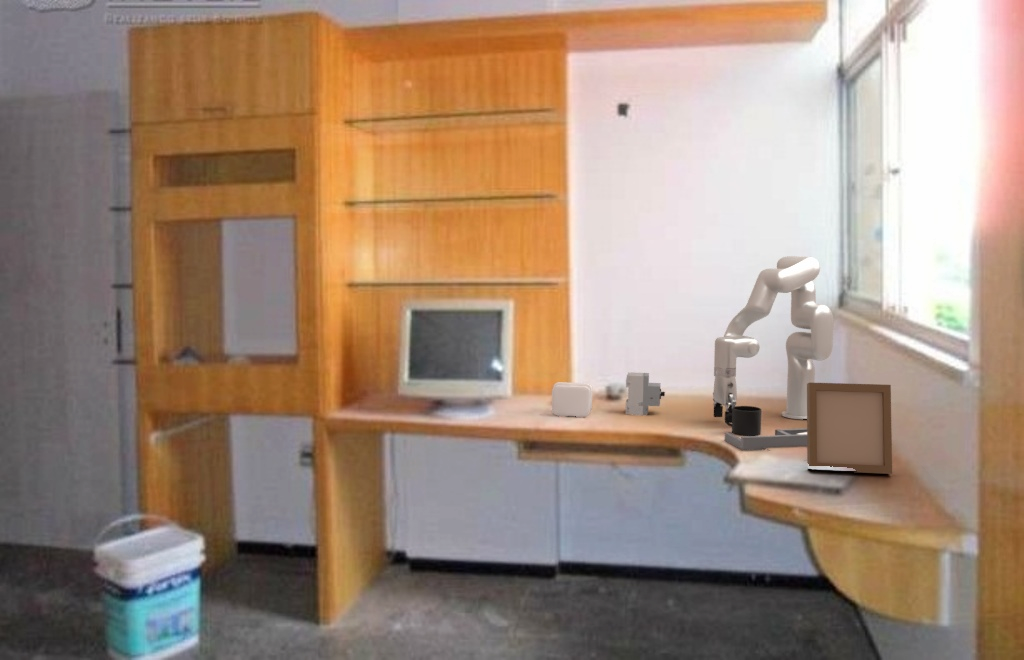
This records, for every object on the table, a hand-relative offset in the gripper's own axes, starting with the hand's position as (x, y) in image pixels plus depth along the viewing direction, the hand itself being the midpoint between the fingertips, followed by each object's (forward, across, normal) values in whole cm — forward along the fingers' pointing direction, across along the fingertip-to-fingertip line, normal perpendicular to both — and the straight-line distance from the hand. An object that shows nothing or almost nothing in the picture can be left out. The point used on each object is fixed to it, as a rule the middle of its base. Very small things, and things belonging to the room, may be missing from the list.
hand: (723, 419), depth 302 cm
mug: (+2, -15, 0) cm, 15 cm away
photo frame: (+2, -61, -10) cm, 62 cm away
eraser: (+1, -28, -16) cm, 32 cm away
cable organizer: (+2, +27, +49) cm, 56 cm away
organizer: (+2, -29, -6) cm, 30 cm away
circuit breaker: (+2, +24, +21) cm, 32 cm away
